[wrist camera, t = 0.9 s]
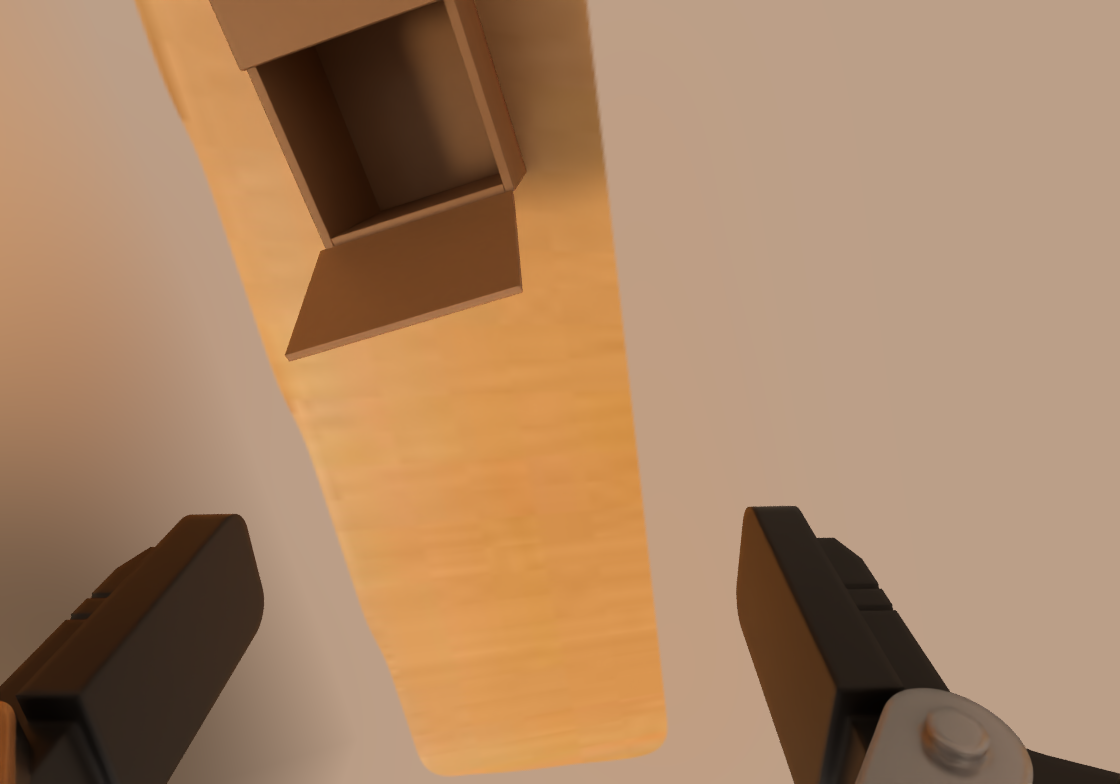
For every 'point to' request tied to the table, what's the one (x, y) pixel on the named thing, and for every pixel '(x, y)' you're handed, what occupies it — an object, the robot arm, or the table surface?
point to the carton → (377, 106)
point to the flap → (410, 275)
